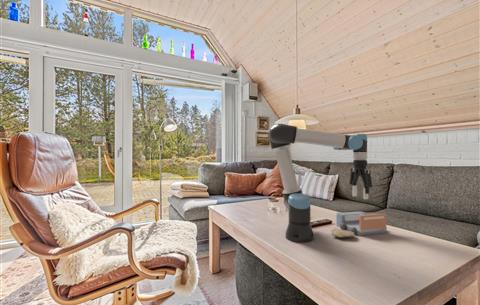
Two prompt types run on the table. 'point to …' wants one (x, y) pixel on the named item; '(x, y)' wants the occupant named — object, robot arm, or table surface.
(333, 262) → the table surface
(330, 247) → the table surface
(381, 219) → the tailgate
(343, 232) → the seashell
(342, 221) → the truck bed
